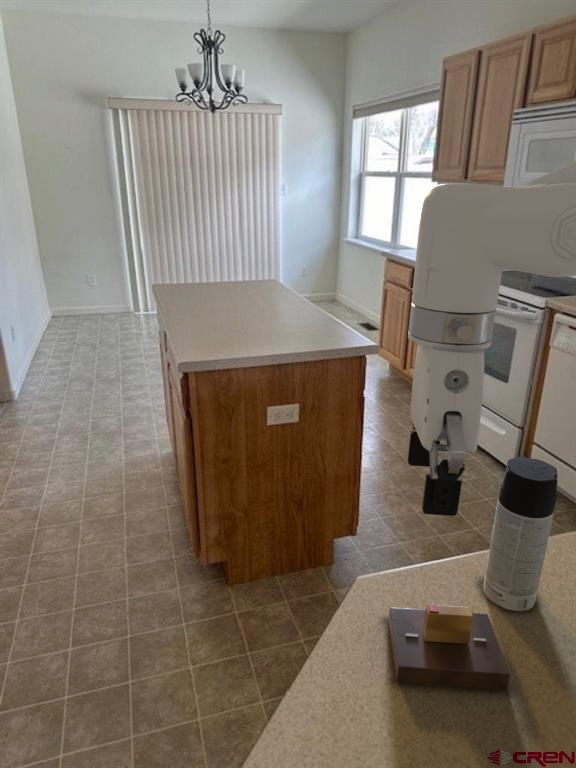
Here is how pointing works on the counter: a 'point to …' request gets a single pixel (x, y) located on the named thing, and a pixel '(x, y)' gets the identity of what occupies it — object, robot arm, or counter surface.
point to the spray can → (520, 533)
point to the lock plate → (446, 654)
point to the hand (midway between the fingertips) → (429, 487)
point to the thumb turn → (447, 624)
